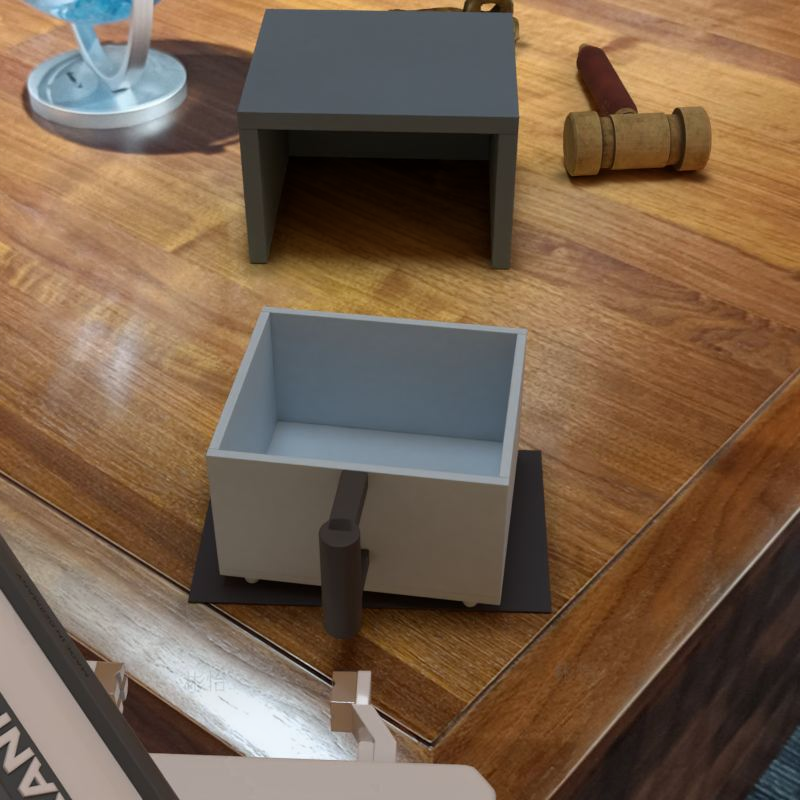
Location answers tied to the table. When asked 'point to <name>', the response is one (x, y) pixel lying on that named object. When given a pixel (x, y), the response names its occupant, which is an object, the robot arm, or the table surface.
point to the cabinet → (379, 101)
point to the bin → (369, 458)
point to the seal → (479, 9)
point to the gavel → (629, 127)
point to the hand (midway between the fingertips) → (230, 675)
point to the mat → (519, 594)
